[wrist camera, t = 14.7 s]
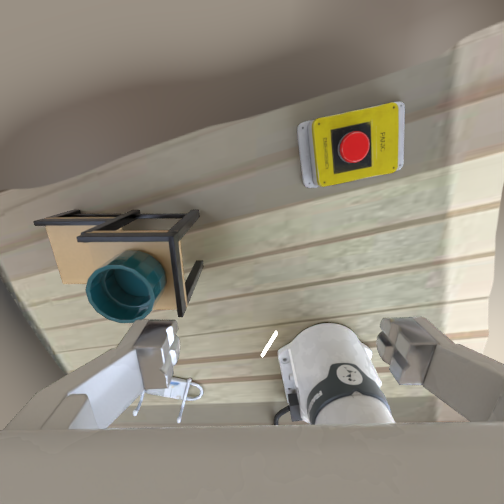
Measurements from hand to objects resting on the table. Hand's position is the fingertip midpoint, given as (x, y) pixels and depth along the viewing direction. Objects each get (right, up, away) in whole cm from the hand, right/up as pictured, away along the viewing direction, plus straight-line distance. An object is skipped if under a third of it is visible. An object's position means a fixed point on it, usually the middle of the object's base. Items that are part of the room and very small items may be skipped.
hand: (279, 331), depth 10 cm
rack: (-19, +5, +31) cm, 37 cm away
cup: (-14, 0, +19) cm, 24 cm away
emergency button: (+13, +19, +27) cm, 35 cm away
